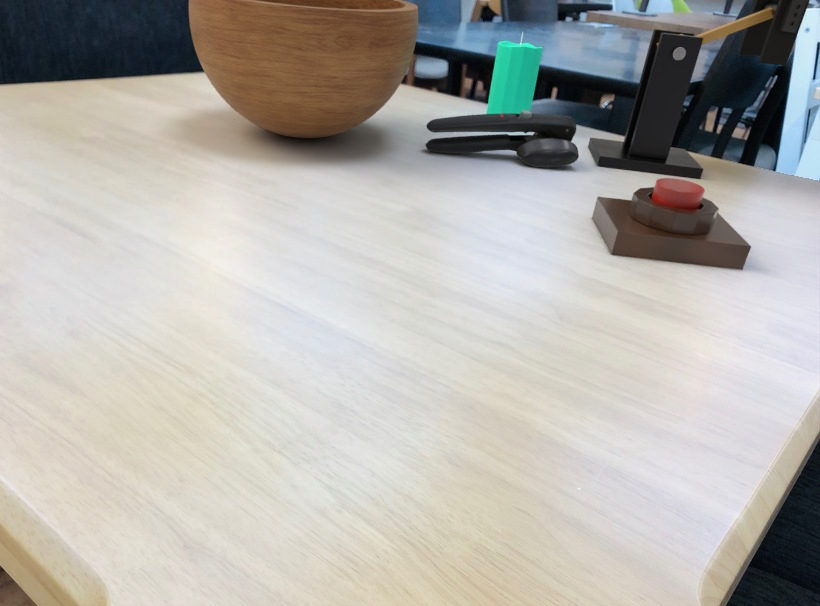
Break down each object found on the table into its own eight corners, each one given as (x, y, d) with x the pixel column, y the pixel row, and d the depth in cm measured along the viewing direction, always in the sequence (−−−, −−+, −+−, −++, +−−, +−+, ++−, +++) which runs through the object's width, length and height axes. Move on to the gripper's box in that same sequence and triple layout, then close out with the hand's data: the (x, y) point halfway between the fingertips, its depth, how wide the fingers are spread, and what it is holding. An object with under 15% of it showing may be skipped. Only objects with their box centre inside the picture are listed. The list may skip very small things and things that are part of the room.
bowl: (421, 127, 93) (437, 1, 85) (376, 180, 72) (392, 19, 64) (244, 100, 97) (244, -22, 90) (152, 143, 76) (142, -12, 68)
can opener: (566, 156, 86) (576, 109, 84) (578, 173, 80) (590, 123, 78) (421, 142, 86) (427, 95, 83) (423, 158, 80) (430, 107, 77)
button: (690, 199, 63) (696, 180, 62) (704, 215, 60) (711, 195, 59) (645, 194, 63) (651, 175, 63) (657, 209, 60) (663, 189, 59)
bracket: (682, 158, 91) (720, 34, 83) (700, 178, 83) (745, 44, 76) (587, 146, 92) (617, 23, 84) (597, 166, 84) (631, 31, 77)
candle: (531, 132, 96) (550, 37, 90) (487, 128, 96) (503, 32, 90) (523, 121, 101) (541, 31, 95) (482, 117, 101) (497, 26, 95)
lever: (777, 15, 80) (774, -7, 79) (797, 21, 75) (794, -3, 74) (657, 61, 84) (652, 41, 83) (668, 69, 79) (664, 48, 78)
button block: (707, 231, 67) (721, 191, 65) (742, 270, 59) (759, 226, 57) (591, 218, 68) (602, 177, 66) (611, 255, 60) (623, 210, 58)
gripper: (772, -182, 77) (704, 44, 89) (852, -215, 60) (755, 69, 72) (843, -176, 77) (765, 50, 88) (944, -207, 60) (831, 77, 71)
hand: (760, 58), depth 80 cm, fingers open, 6 cm apart
